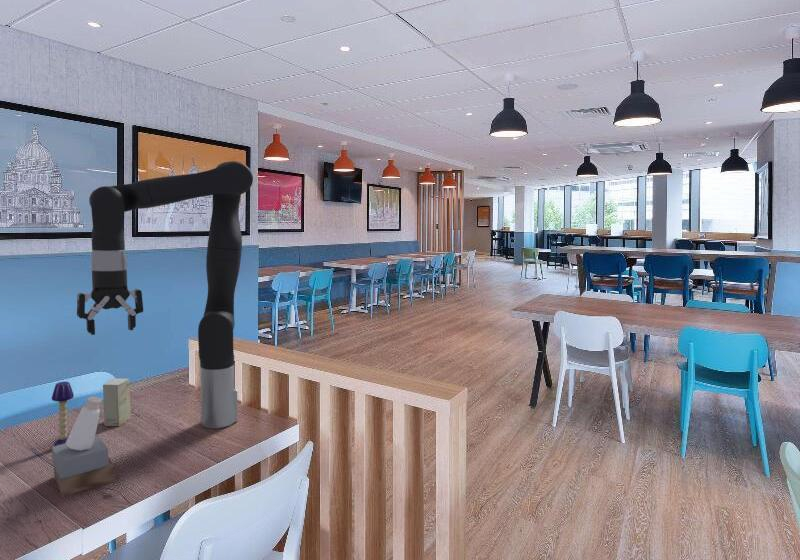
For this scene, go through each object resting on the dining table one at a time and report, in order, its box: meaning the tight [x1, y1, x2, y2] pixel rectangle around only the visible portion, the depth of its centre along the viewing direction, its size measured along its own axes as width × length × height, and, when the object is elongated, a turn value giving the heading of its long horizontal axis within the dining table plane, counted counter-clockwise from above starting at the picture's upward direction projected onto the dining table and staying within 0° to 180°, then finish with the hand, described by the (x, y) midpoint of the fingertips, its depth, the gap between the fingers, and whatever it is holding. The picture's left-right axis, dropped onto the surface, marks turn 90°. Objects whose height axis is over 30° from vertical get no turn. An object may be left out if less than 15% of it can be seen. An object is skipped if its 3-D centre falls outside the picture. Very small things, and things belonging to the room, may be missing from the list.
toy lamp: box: [51, 381, 75, 446], centre depth 126 cm, size 5×5×17 cm
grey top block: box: [51, 435, 110, 479], centre depth 110 cm, size 9×9×4 cm
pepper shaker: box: [65, 396, 103, 451], centre depth 109 cm, size 5×5×11 cm
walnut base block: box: [53, 455, 116, 497], centre depth 111 cm, size 10×10×4 cm
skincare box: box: [102, 377, 132, 427], centre depth 141 cm, size 6×4×12 cm
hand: (112, 332), depth 124 cm, fingers open, 8 cm apart
